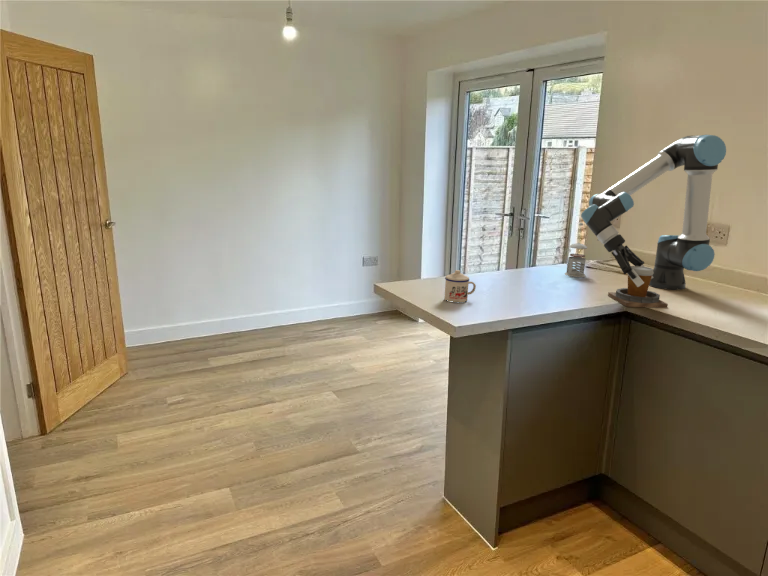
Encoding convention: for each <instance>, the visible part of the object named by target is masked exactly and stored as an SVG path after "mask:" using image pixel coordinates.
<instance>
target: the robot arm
mask: <svg viewBox="0 0 768 576" xmlns="http://www.w3.org/2000/svg"><path fill="white" fill-rule="evenodd" d="M726 154H727V146H726V144H725V141H724V140H723V139H722V138H721V137H720V136H718V135H715V134H702V135H701V134H700V135H698V134H697V135H686V136H683V137H680V138H679V139H677V140H676V141H674V142H672V143H670V144H669V145H667V146H666V147H664V148H663V149H661V150H659V151H658V152H657V154H656V156H655V157H654V158H652V159H650V160H649V161H648V162H646V163H645V164H643V165H642V166H640V167H639V168H637V169H636V170H634V171H633V172H631V173H630V174H628V175H627V176H626V177H624V178H623V179H621V180H619V181H617V182H616V183H615V184H614V185H612V186H611V187H609V188H607V189H606V190H604V191H602V193H596V194H593V195H592V196H591V197H590V198H589V201H588V204H589V205H588V207H587V208H586V209H584V210H583V211H582V212H581V214H580V218H581V219H582V220H583V222H584V223H585V225H586V226H587V227H588V228H589V229H590V231H591V232H592V233H593V234H594V235H595V236H596V238H597V240H596V241H599V242H600V243H601V244H602V245H603V247H604V249H606V251H607V252H608V253H611V254H612V256H613V257H614V258H615V261H616V262H617V264H618V266H619V268H620V270H621V272H622V273H623V275H627V277H628V276H629V277H630V278H631V279H632V281H633V282H634V283H635V284H636V286H637V287H639V286H641V285H642V284H644V282H643V280H642V279H641V278H640V277H639V276H638V274H637V273H636V272H635V271H634V269H633V270H632V268H631V266H642V267H646V266H645V265H644V264H645V261H643V260H642V259H641V258H640V257H639V256H638V255H637V254H636V253H635V252H633V250H631V249H630V248H629V246H628V245H625V246H624V243H626V240H625V238H624V237H623V235H621V234H620V233H619V230H618V229H617V228H616V227H615V226H614V224H612V221H615V220H616V219H617V218H619V217H621V216H622V215H623V214H625V213H626V212H627V213H628V211H629V210H631V209H632V208H633V207H634V205H635V203H634V202H635V201H634V199H633V197H632V196H631V195H633V194H635V193H636V192H638V191H639V190H641V189H642V188H644V187H645V186H647V185H648V184H650V183H651V182H653V181H654V180H656V179H657V178H659V177H661V176H662V175H664V174H665V173H666V172H668V171H669V172H672V171H674V170H676V169H677V168H679V167H682V166H684V167H683V171H684V172H685V173H686V174H687V179H686V181H687V182H686V191H685V198H684V200H685V201H684V209H683V210H684V212H683V219H682V220H683V222H682V228H681V229H682V230H681V231H682V232H681V234H678V235H676V234H675V235H674V234H671V235H669V234H662V235H660V236H659V237H658V240H657V242H656V243H657V246H656V253H655V260H654V265H653V266H654V267H653V268H652V269H653V272H654V274H653V275H652V277H651V281H650V284H649V287H654V288H658V289H663V290H668V291H669V290H673V291H680V290H681V291H683V290H685V289H686V285H687V284H686V283H687V282H686V278H685V272H684V270H687V271H693V272H701V271H704V270H705V269H707V268H708V267H709V266H711V264H712V263H713V262H714V259H715V255H716V254H715V250H714V248H713V247H712V246H711V245H710V243H711V242H710V240H711V238H710V237H709V236H708V234H707V230H708V221H709V220H708V219H709V210H710V209H709V208H710V201H711V200H710V199H711V190H712V182H713V174H714V173H716V172H717V171H718V168H719V164H721V163H722V160H725V159H724V158H725V157H726ZM630 263H631V264H632V265H631V264H630Z"/></svg>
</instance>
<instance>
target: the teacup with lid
mask: <svg viewBox="0 0 768 576" xmlns="http://www.w3.org/2000/svg"><path fill="white" fill-rule="evenodd" d="M444 279H445V285H444V286H445V287H444V300H445V301H446V300H448V301H453V302H465V301H467V302H468V297H469V296H468V295H472V294H474V292H476V288H477V287H476V286H477V285H476V283H475V282H473V281H470V277H469V276H467V275H465V274H464V273H461V270H460V269H456V270H455V271H454V272H452V273H450V274H447V275H445V278H444ZM469 284H472V286H473V287H472V289H471V291H469ZM465 303H466V302H465Z"/></svg>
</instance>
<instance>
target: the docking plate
mask: <svg viewBox="0 0 768 576" xmlns="http://www.w3.org/2000/svg"><path fill="white" fill-rule="evenodd" d="M607 296H608V297H609V298H611V299H613V300H614V301H615V302H617V301H618V302H617V303H619V304H621V305H623V306H624V307H626V308H627V307H629V308H631V307H632V308H634V307H635V308H665V309H666V308H667V309H668V305H669V304H668V303H667V302H665V301H663V300H661V299H660V298H661V297H660V296H661V295H660V294H659V293H657V292H655V291H652V290H648V291H647V294H646V297H637V296H631V295H628V287H622V288H621V287H620V288H617V289H616V290H615V292H608V294H607Z"/></svg>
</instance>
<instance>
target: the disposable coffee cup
mask: <svg viewBox="0 0 768 576" xmlns="http://www.w3.org/2000/svg"><path fill="white" fill-rule="evenodd" d="M630 266H631V268H632V270H633V269H634V271H635V272H636V273H637V274H638V276H639V277H640V278H641V279H642V280H643V282H644V284H642V285H641V286H639V287H637V286H636V284H635V283H634V282H633V281H632V279H631V278H630V277H629V276H628V275H627V288H628V295H631V296H637V297H646V294H647V291H649V287H650V285H649V284H650V281H651V277H652V275H653V274H654V272H653V269H654V268H652V267H648V266H645V267H642V266H634V265H630Z"/></svg>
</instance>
